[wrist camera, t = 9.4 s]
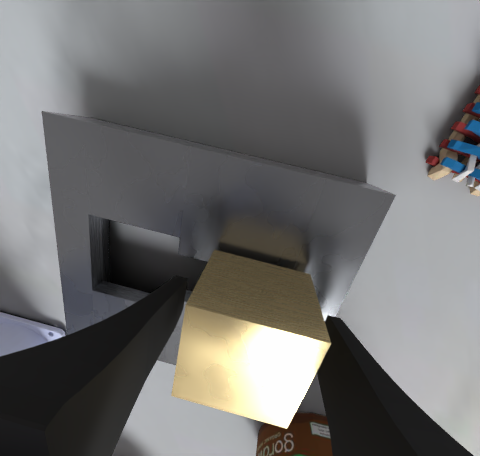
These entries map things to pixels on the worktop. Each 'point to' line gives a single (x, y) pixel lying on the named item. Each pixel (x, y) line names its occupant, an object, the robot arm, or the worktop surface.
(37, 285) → the worktop surface
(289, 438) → the food container
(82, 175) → the keyhole plate
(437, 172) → the woven mat
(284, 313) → the brass peg
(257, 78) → the worktop surface
